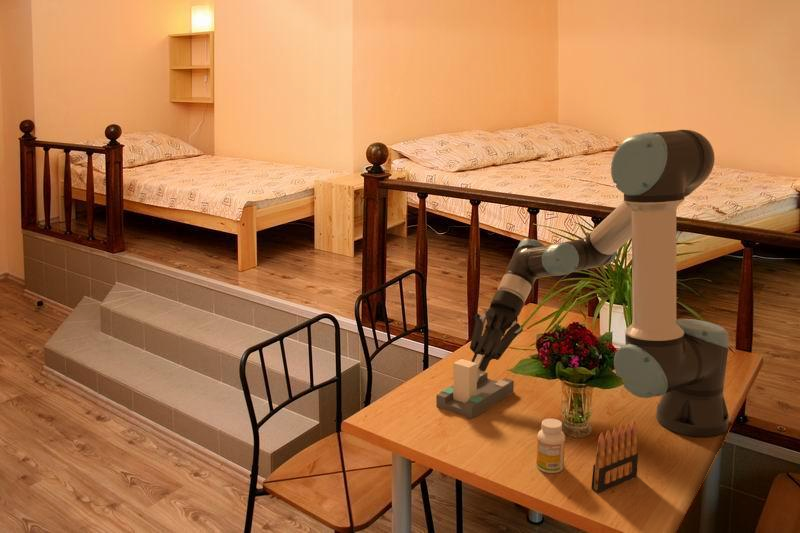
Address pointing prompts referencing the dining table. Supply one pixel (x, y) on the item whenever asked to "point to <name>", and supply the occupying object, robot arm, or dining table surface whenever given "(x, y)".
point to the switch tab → (464, 380)
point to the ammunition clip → (615, 458)
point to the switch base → (485, 398)
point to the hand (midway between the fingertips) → (471, 381)
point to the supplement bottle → (550, 446)
